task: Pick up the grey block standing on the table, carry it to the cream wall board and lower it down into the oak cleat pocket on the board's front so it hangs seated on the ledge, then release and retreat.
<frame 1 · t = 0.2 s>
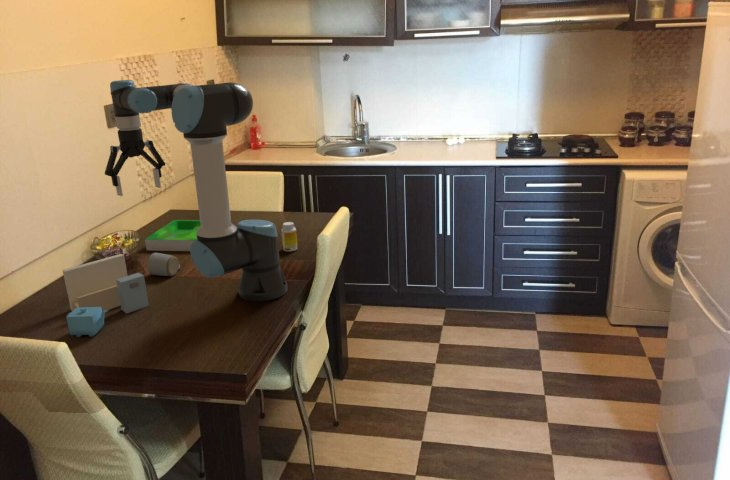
hand: (139, 191, 212), 28 cm above the table, fingers open, 13 cm apart
grey block: (135, 307, 188), on the table
light blue rounded block: (91, 333, 174), on the table
grey cylinder: (166, 274, 215), on the table
supplement bottle: (290, 250, 233), on the table
tray: (191, 241, 248), on the table
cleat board: (105, 303, 192), on the table
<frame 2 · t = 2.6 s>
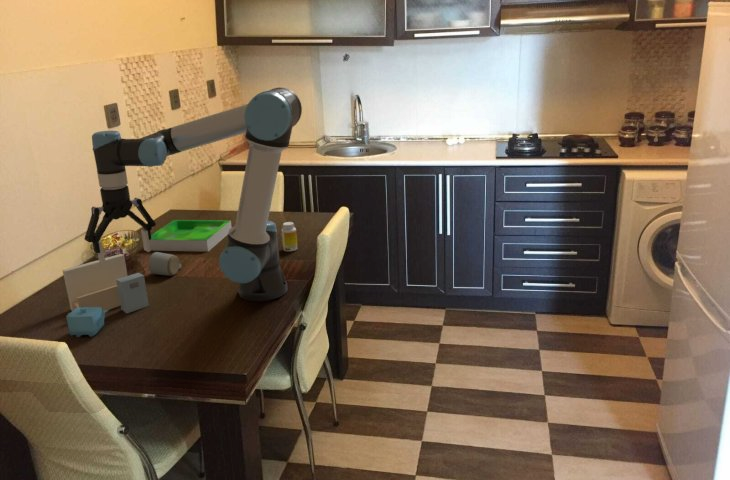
hand: (125, 256, 183), 17 cm above the table, fingers open, 13 cm apart
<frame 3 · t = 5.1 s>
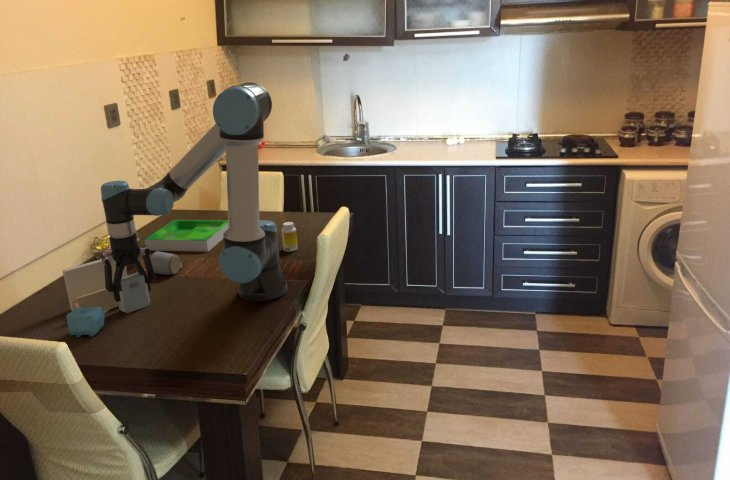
hand: (135, 306, 188), 1 cm above the table, fingers closed on grey block, 7 cm apart
grey block: (135, 307, 188), on the table, touching gripper
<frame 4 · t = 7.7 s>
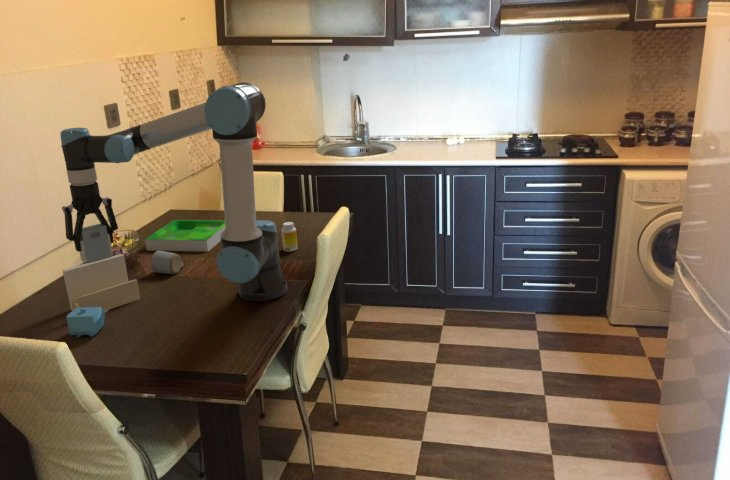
hand: (97, 257, 186), 16 cm above the table, fingers closed on grey block, 7 cm apart
grey block: (97, 258, 186), point 15 cm above the table, touching gripper
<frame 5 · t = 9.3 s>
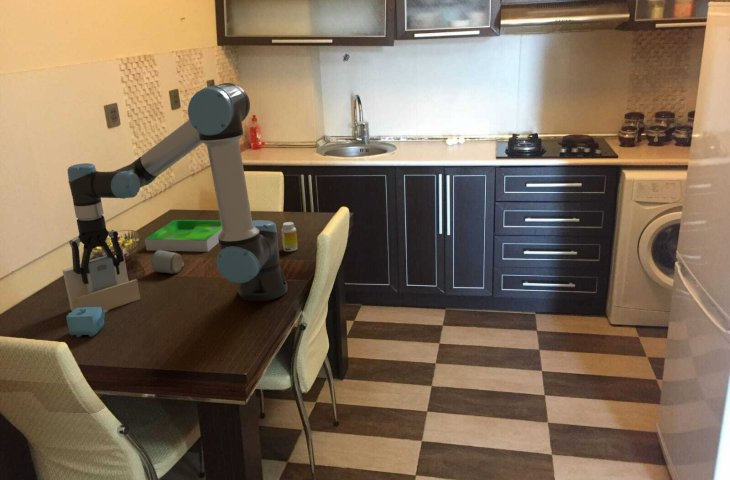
hand: (103, 288, 189), 5 cm above the table, fingers closed on grey block, 7 cm apart
grey block: (103, 290, 190), point 5 cm above the table, touching gripper
when the fingers open (5 cm above the table, at t = 10.5 s): grey block drops 1 cm, resting on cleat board.
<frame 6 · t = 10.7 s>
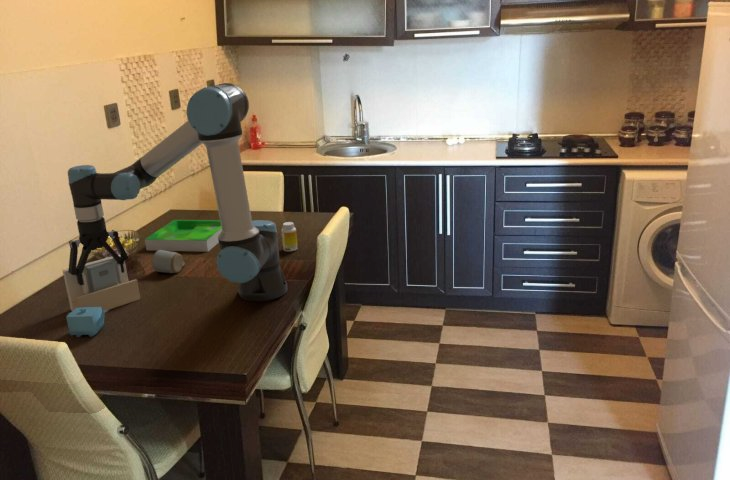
hand: (103, 288, 189), 5 cm above the table, fingers open, 10 cm apart
grey block: (105, 295, 190), point 3 cm above the table, touching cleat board
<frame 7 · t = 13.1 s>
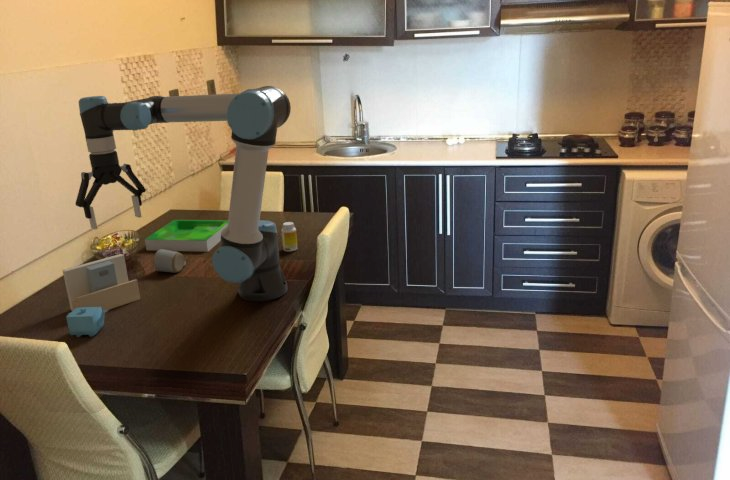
hand: (116, 222, 185), 26 cm above the table, fingers open, 13 cm apart
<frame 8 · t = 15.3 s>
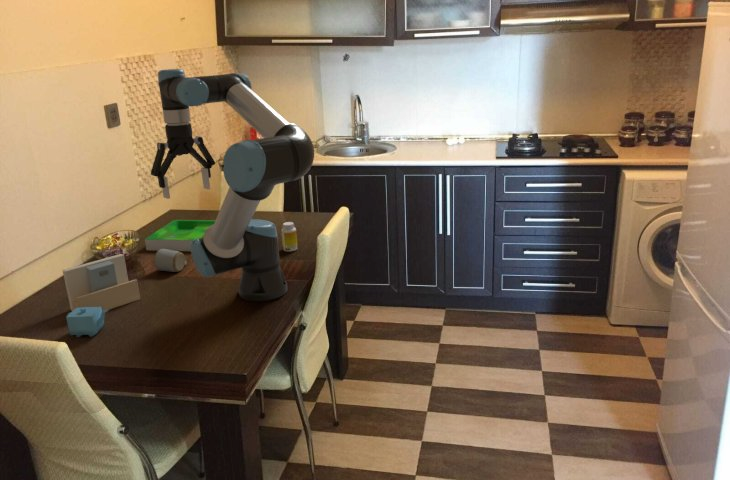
hand: (187, 193, 190), 32 cm above the table, fingers open, 13 cm apart
at the end: grey block inside the target area on the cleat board (0.3 cm from its centre), point 3.0 cm above the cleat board's base; grey block tilted 0°; the gripper is holding nothing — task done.
